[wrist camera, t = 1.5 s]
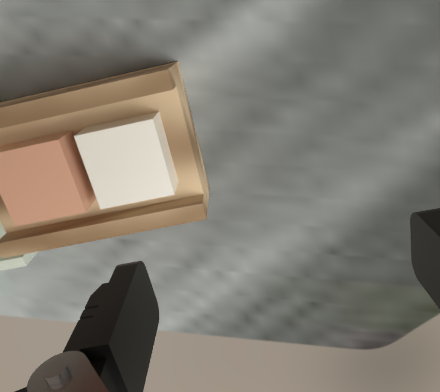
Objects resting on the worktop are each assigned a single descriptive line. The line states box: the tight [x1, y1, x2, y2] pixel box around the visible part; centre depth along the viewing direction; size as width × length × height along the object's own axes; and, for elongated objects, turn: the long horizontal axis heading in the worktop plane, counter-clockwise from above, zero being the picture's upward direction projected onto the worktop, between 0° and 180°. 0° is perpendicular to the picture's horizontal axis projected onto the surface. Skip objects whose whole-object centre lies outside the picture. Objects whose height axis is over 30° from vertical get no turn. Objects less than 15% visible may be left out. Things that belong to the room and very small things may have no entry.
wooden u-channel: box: [0, 61, 209, 258], centre depth 29 cm, size 10×15×6 cm, turn 102°
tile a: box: [74, 111, 178, 209], centre depth 27 cm, size 5×5×2 cm
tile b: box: [0, 130, 96, 226], centre depth 27 cm, size 5×5×2 cm
